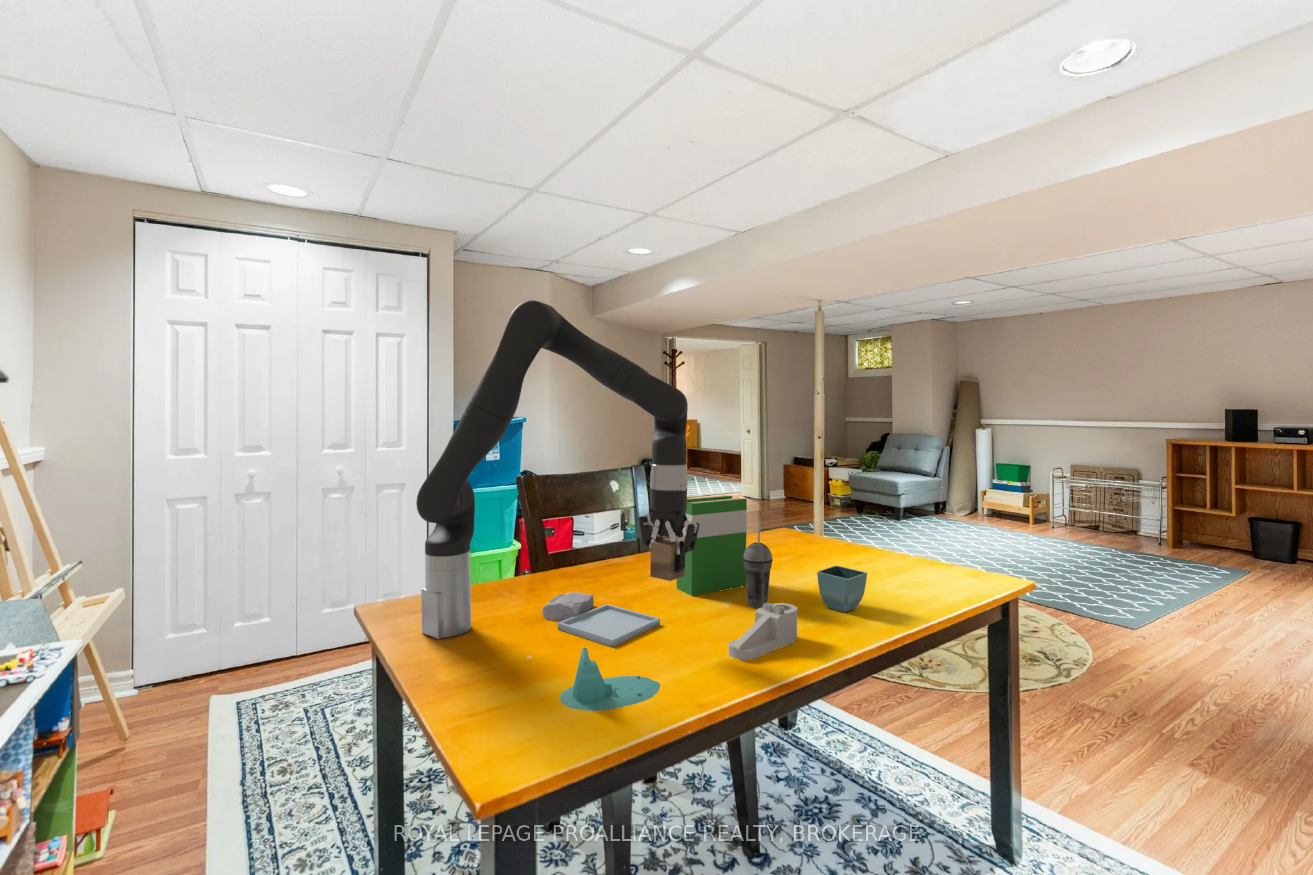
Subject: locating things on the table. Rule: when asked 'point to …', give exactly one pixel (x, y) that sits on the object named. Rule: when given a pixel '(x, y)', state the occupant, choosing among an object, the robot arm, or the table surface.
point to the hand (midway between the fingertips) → (667, 569)
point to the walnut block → (664, 561)
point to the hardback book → (715, 545)
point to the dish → (609, 624)
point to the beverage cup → (757, 572)
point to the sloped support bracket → (767, 632)
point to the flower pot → (841, 587)
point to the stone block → (567, 606)
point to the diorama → (605, 688)
